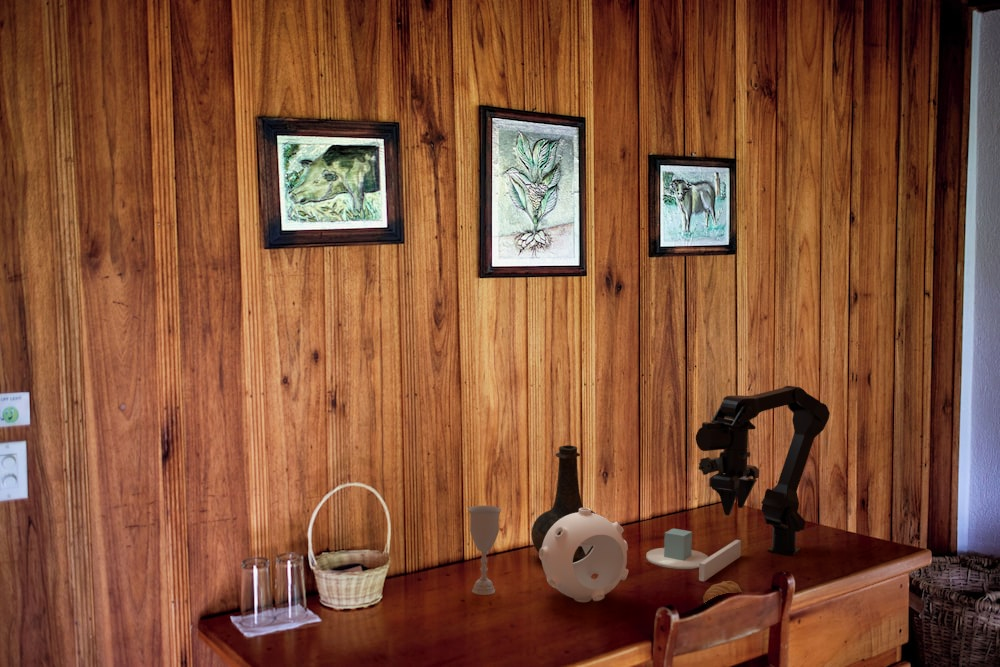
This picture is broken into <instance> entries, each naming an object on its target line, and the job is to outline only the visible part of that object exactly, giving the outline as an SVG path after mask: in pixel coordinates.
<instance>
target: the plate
mask: <svg viewBox="0 0 1000 667" xmlns="http://www.w3.org/2000/svg"><path fill="white" fill-rule="evenodd" d="M645 554H646V560H647V561H648V562H649V563H651V564H653V565H655V566H659V567H662V568H666V569H667V568H668V569H676V570H693V569H699V563H701V562H702V561H704V560H705V559H707V558H708V557H709V556H708V555H707V554H705V553H704V552H701V551H698V550H695V549H692V554H691V556H690V557H689V558H687V559H685V560H684V561H682V560H677V559H672V558H667V557H664V547H659V548H653V549H650V550H649V551H648V552H646V553H645Z"/></svg>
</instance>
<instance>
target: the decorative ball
mask: <svg viewBox="0 0 1000 667" xmlns="http://www.w3.org/2000/svg"><path fill="white" fill-rule="evenodd" d="M591 510H592V509H591V508H589V507H583V508H580V509H579V512H577V513H572V514H569V515H567V516H564V517H563V518H561V519H559V520H558V521H557V522H556V523H555V524H554V525H553V526H552V527H551V528H550V529H549V531H548V532H547V534H546V536H545V538H544V541H543V545H542V548H540V550H539V553H538V558H539V559H540V561H541V564H542V569H543V572H544V574H545V576H546V581H547V584H548V585H549V586H551V587H552V588H553V589H556V590H557V591H559V593H561V594H563V595H564V596H566V597H568V598H572V599H574V601H575V602H579V603H587V602H590V601H591V600H593V602H599V601H602V600H603V599H605V597H606V596H605V595H607V594H608V593H610V592H611V591H612V590H614V589H615V588H616V586H618V584H619V583H620V581H625V580H626V579H627V577H628V574H629V569H628V568H626V567H627V561H628V553H627V552H628V550H629V547H628V546H629V545H628V542H627V541H626V540H625V539H624V538H623V535H622V534H623V532H625V530H624V528H623V527H622V525H620V523H619V522H618V521H615V522H611V521H610V520H609V519H607V518H605V517H604V516H602V515H600V514H597V513H596V514H594V513H595V512H594V513H591ZM560 531H561V535H558V533H559V532H560ZM557 535H558V536H557ZM578 546H582V548H583V550H584V552H585V554H587V553H588V551H589V550H590V548H591V547H592V546H593V548H592V550H591V552H590V553H589V554H588V555H587V556H586V557H585V558H583V559H581V560H580V561H577V562H574V563H573V557H574V554H575V551H576V549H577V548H578ZM594 574H595V575H597V577H596V578H592V576H593V575H594Z"/></svg>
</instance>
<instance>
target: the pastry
mask: <svg viewBox="0 0 1000 667" xmlns="http://www.w3.org/2000/svg"><path fill="white" fill-rule="evenodd" d="M737 592H742V593H743V591H742V589H741V588H740V586H739V584H738V583H736V582H735V581H732V580H727V581H724V580H723V581H722V582H719V583H715V584H712V585H711V586H710V587H709V588H708V589H707V590H706V591H705V592H704V595H703V596H702V599H703V604H704V603H705V602H707V601H708V600H710V599H712V598H714V597H716V596H718V595H722V594H726V593H737ZM705 604H706V603H705Z"/></svg>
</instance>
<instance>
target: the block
mask: <svg viewBox="0 0 1000 667" xmlns="http://www.w3.org/2000/svg"><path fill="white" fill-rule="evenodd" d="M692 543H693V531H690V530H685V529H678V528H671V529H669V530H668V531H665V532H664V542H663V544H664V546H663V548H664V557H667V558H672V559H677V560H682V561H684V560H685V559H687V558H689V557H690V556H691V554H692V550H693V544H692Z"/></svg>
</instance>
